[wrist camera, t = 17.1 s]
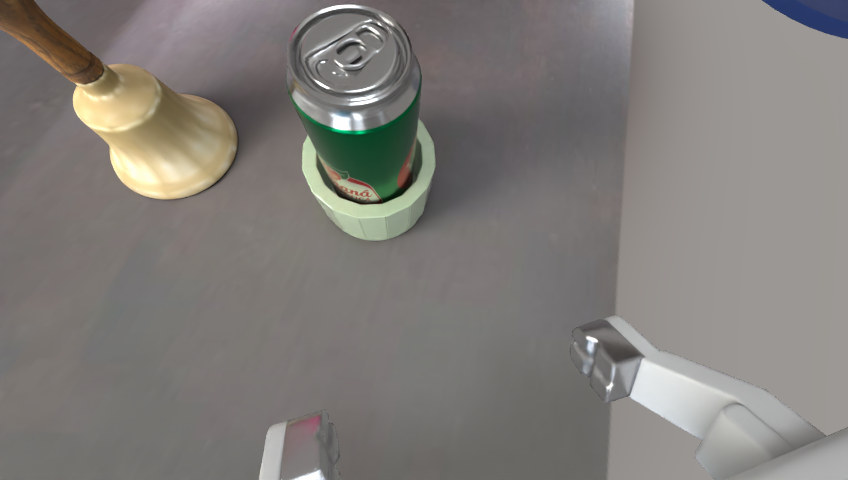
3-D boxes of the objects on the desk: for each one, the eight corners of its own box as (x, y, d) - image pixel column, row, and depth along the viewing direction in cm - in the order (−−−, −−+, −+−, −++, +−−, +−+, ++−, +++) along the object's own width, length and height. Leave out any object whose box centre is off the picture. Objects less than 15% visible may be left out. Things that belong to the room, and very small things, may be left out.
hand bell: (254, 110, 24) (-1, -267, 9) (214, 211, 22) (-221, -57, 7) (144, 87, 24) (-311, -339, 9) (93, 186, 22) (-645, -149, 6)
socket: (424, 142, 24) (429, 98, 20) (431, 238, 23) (440, 214, 18) (322, 145, 24) (303, 99, 19) (322, 243, 22) (300, 220, 17)
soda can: (324, 193, 22) (241, 50, 11) (374, 146, 23) (350, -28, 12) (377, 240, 22) (351, 143, 10) (426, 190, 23) (453, 52, 11)
